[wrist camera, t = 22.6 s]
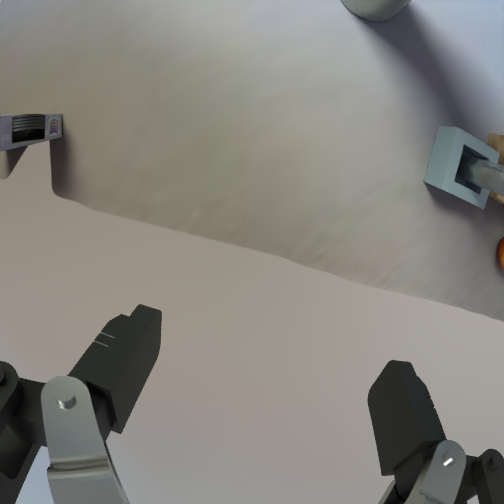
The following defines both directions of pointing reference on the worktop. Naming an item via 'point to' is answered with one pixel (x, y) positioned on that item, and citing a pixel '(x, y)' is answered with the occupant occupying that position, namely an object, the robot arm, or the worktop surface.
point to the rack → (457, 163)
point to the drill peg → (482, 173)
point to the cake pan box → (28, 129)
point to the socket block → (499, 144)
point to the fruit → (501, 253)
